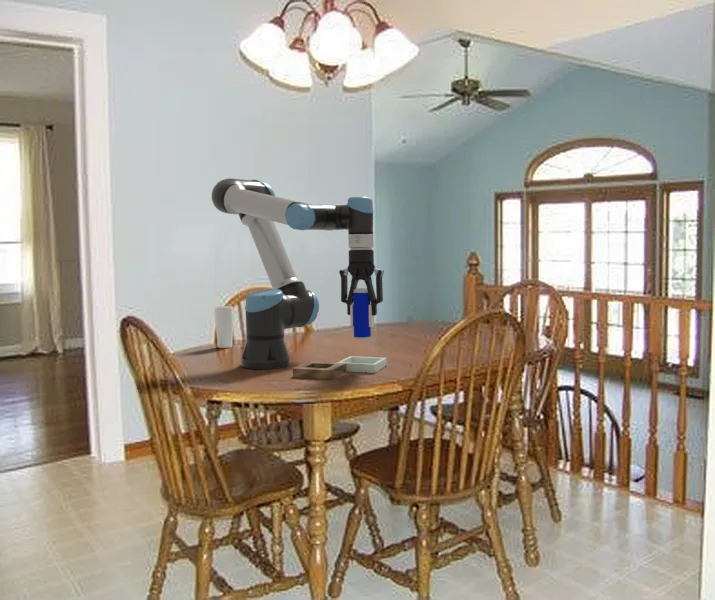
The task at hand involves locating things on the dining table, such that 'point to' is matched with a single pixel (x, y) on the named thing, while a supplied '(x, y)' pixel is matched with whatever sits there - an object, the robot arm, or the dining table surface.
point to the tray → (364, 364)
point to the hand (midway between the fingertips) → (362, 325)
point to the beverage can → (361, 313)
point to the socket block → (319, 370)
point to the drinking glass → (224, 326)
